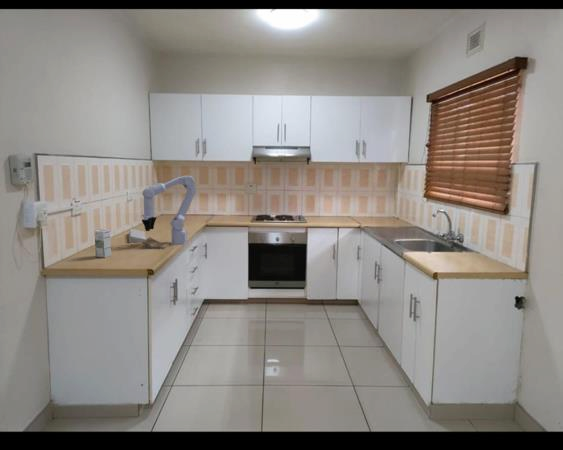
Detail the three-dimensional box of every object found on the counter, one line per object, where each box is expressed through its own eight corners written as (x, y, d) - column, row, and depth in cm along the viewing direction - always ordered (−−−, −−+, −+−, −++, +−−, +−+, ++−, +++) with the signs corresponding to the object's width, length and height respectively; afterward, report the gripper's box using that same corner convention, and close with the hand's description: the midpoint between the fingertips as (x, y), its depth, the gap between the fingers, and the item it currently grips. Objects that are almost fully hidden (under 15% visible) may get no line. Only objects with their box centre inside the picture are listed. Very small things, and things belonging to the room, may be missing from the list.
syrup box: (111, 255, 216) (110, 229, 214) (104, 258, 210) (103, 231, 208) (102, 255, 217) (101, 229, 215) (95, 257, 212) (93, 230, 210)
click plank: (159, 244, 248) (159, 242, 248) (152, 248, 234) (153, 246, 234) (149, 238, 247) (149, 237, 247) (141, 243, 233) (142, 241, 233)
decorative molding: (142, 237, 288) (128, 234, 284) (144, 231, 288) (130, 228, 284) (144, 246, 256) (128, 243, 253) (146, 239, 256) (130, 236, 252)
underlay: (171, 244, 249) (171, 244, 249) (164, 249, 233) (164, 249, 233) (148, 244, 249) (148, 243, 249) (140, 249, 233) (140, 249, 233)
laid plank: (170, 244, 248) (170, 242, 248) (164, 248, 234) (164, 246, 234) (160, 244, 248) (160, 242, 248) (153, 248, 234) (153, 246, 234)
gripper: (146, 206, 248) (146, 228, 250) (138, 209, 234) (139, 231, 236) (157, 207, 248) (158, 228, 250) (150, 209, 234) (150, 232, 236)
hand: (149, 230), depth 243 cm, fingers open, 7 cm apart
